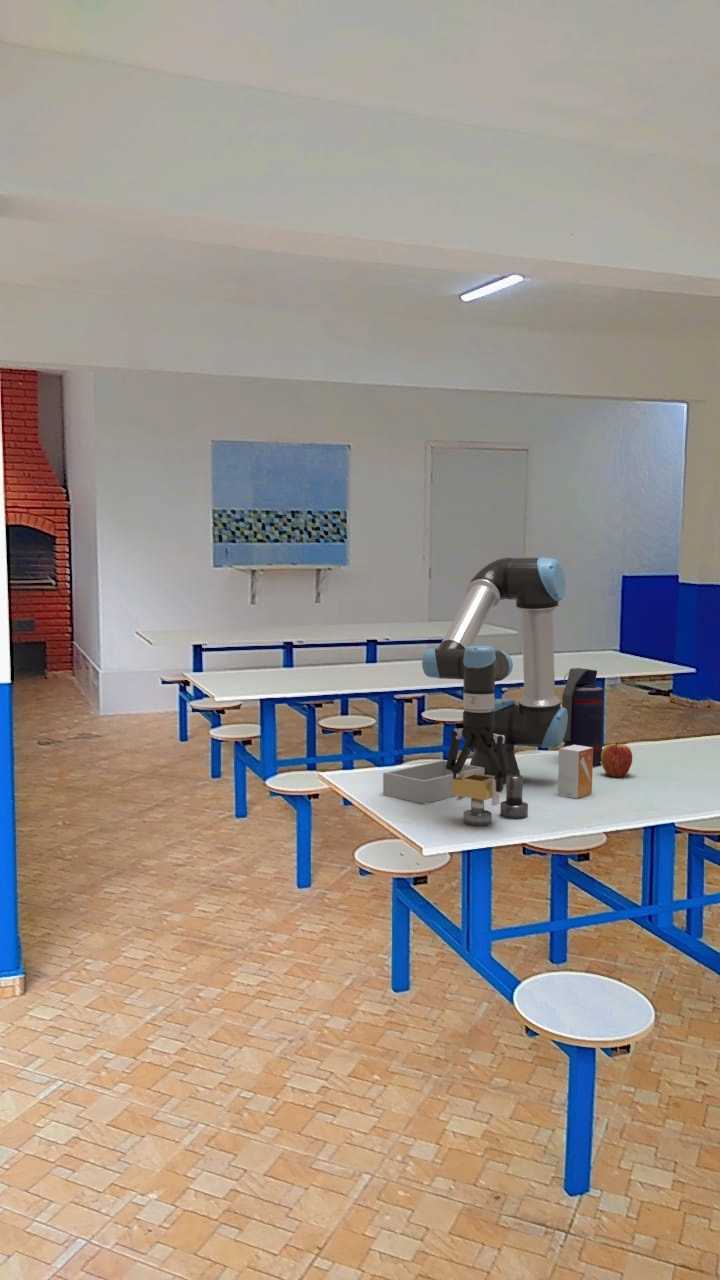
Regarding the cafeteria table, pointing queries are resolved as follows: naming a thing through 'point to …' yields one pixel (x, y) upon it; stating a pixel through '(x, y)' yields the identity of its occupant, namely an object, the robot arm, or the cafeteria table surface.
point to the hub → (477, 814)
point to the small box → (575, 771)
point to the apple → (616, 759)
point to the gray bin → (423, 782)
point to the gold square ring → (473, 786)
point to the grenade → (584, 711)
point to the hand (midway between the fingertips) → (477, 801)
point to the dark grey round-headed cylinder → (514, 799)
